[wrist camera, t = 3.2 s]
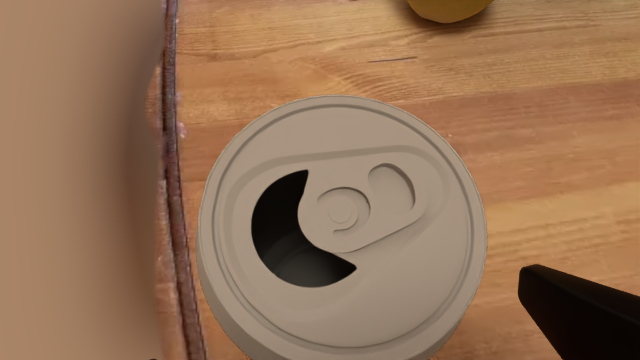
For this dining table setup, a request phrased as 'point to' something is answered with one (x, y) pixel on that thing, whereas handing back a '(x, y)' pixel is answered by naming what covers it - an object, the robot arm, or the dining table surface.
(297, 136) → the beverage can
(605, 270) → the dining table surface
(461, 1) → the apple
